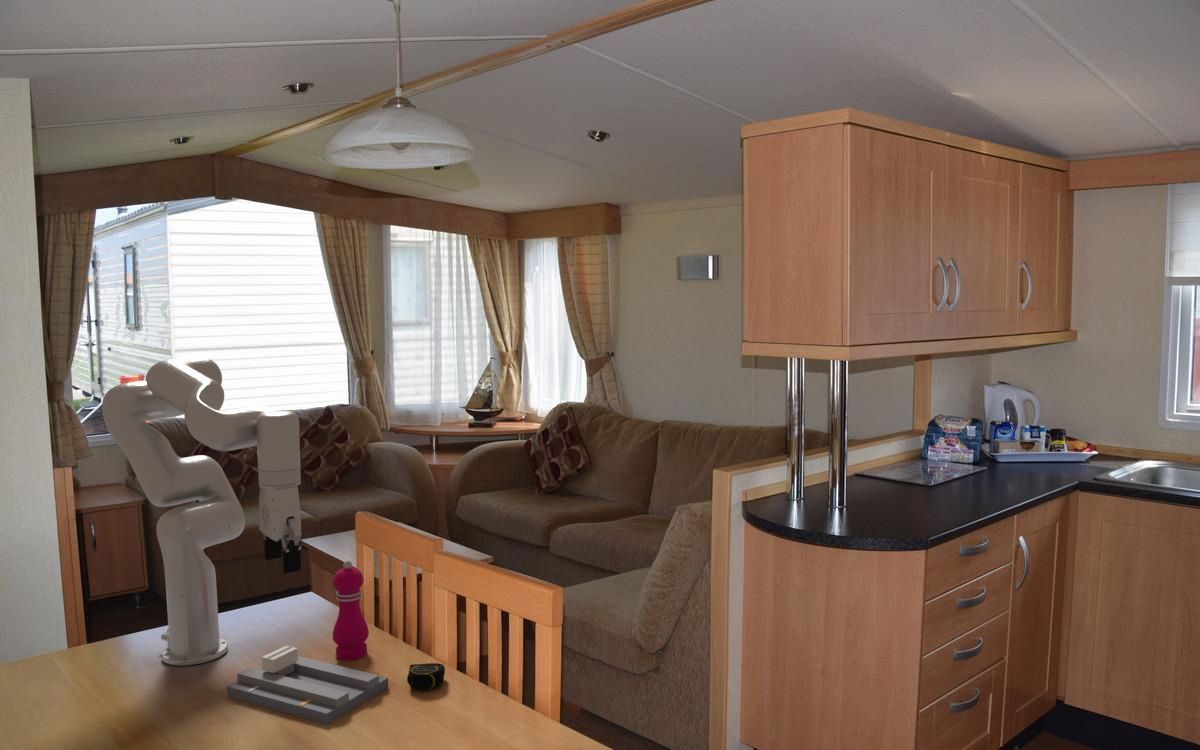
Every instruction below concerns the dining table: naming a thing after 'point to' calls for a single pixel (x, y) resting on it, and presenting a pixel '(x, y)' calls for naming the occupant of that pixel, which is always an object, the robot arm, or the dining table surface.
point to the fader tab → (280, 661)
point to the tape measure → (426, 676)
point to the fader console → (308, 689)
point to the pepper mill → (349, 615)
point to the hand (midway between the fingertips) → (282, 564)
